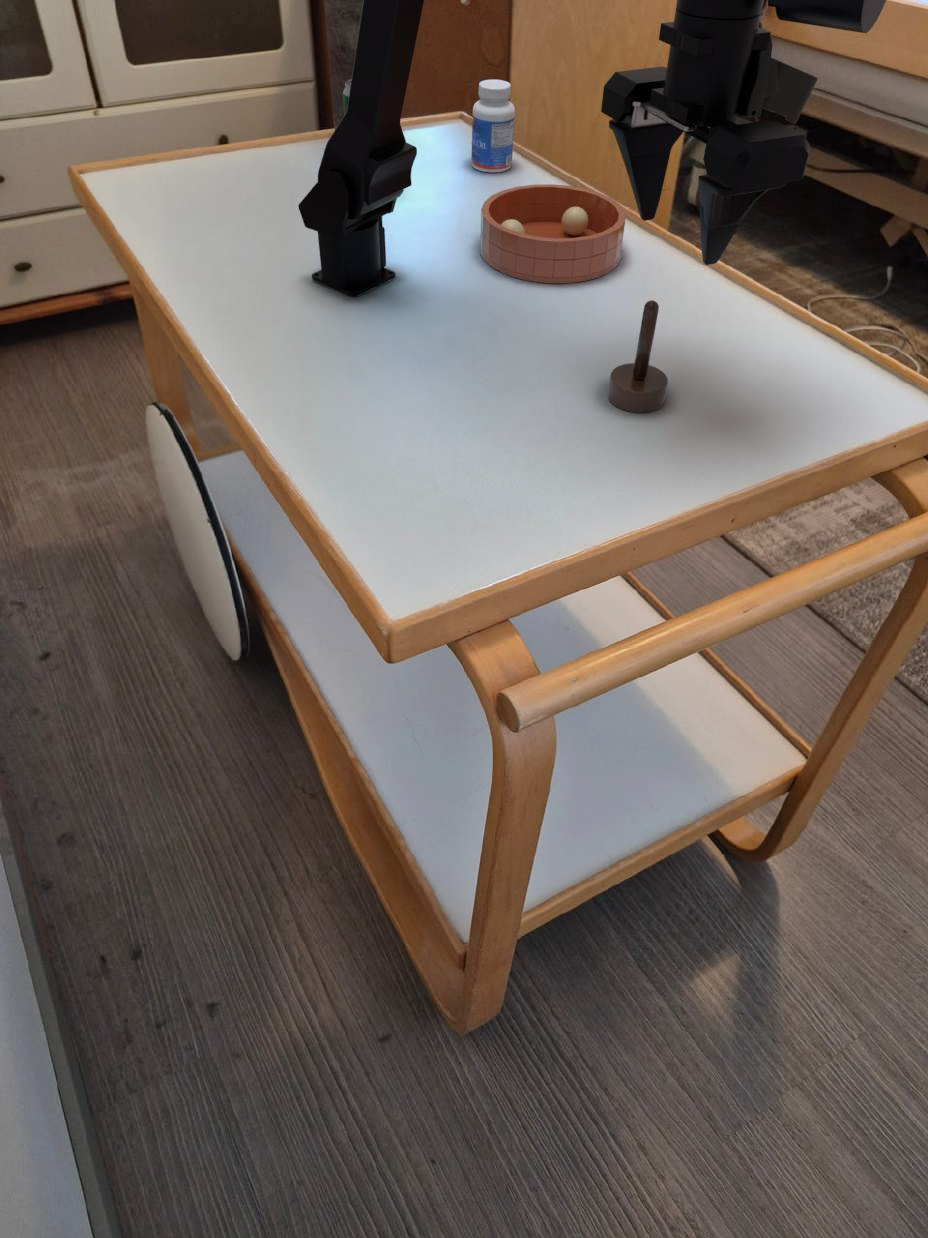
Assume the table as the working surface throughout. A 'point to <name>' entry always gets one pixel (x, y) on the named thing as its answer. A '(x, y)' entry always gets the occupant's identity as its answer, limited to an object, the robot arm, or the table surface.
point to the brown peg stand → (640, 372)
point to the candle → (341, 47)
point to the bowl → (551, 234)
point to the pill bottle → (493, 127)
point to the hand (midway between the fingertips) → (677, 240)
